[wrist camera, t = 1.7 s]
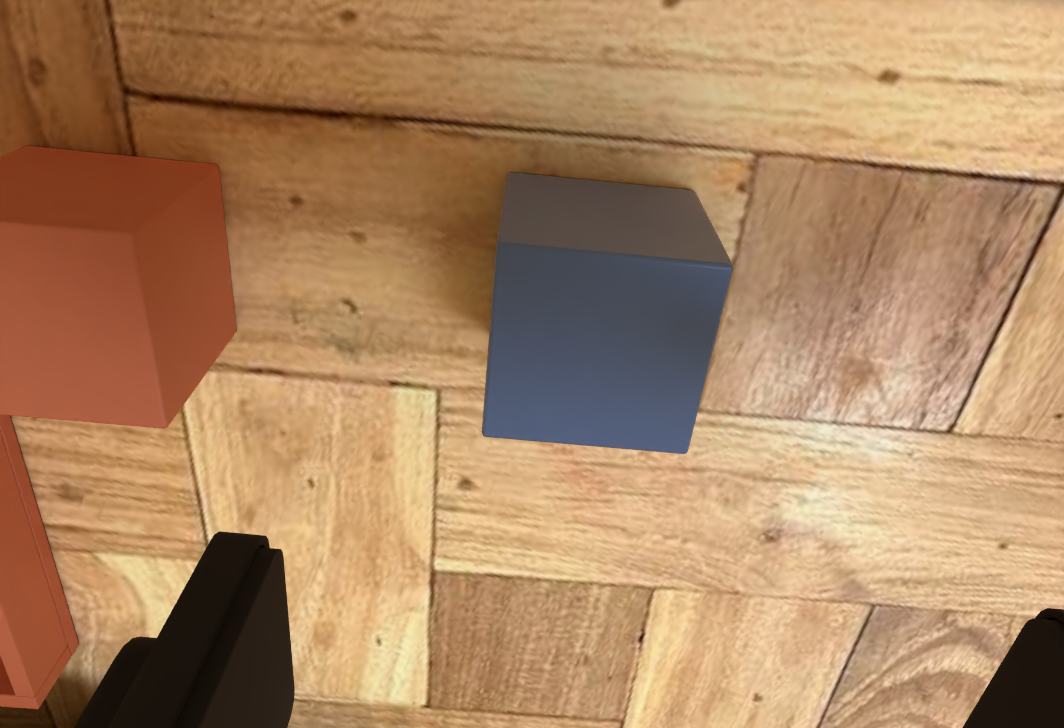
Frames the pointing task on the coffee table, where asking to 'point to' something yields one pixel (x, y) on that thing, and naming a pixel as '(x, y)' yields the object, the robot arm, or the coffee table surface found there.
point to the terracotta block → (109, 285)
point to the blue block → (601, 313)
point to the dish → (27, 590)
